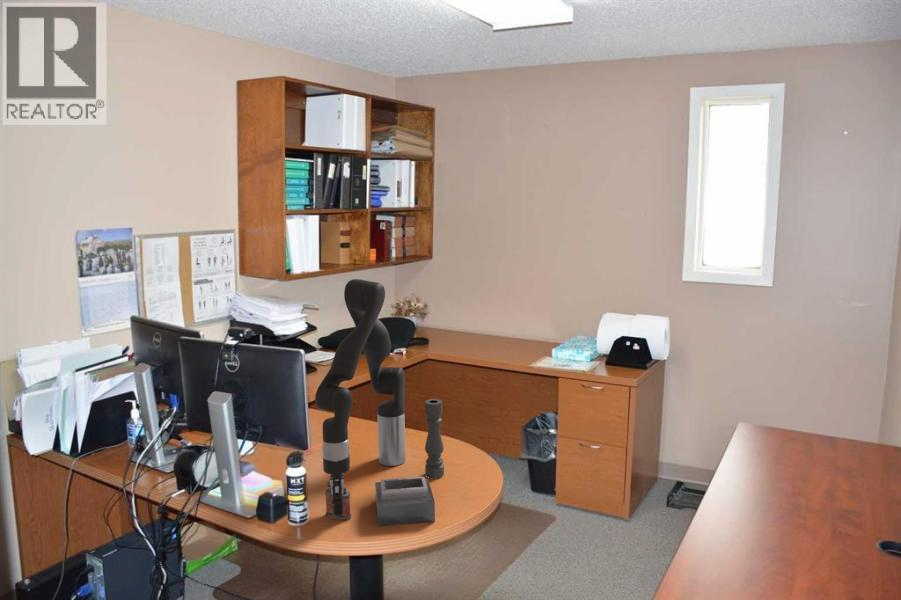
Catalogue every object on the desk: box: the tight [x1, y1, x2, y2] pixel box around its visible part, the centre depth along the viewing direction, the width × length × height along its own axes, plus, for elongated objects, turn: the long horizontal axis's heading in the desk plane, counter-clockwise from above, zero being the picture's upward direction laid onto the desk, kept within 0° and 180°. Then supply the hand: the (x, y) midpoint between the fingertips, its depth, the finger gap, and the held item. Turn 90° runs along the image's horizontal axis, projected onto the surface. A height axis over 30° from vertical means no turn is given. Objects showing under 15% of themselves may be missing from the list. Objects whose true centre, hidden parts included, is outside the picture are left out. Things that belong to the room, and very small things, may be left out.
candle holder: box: [424, 398, 445, 479], centre depth 230 cm, size 6×6×25 cm
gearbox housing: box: [374, 476, 436, 527], centre depth 206 cm, size 16×16×8 cm
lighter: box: [324, 481, 352, 521], centre depth 203 cm, size 8×3×10 cm, turn 65°
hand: (338, 510), depth 204 cm, fingers closed on lighter, 4 cm apart
